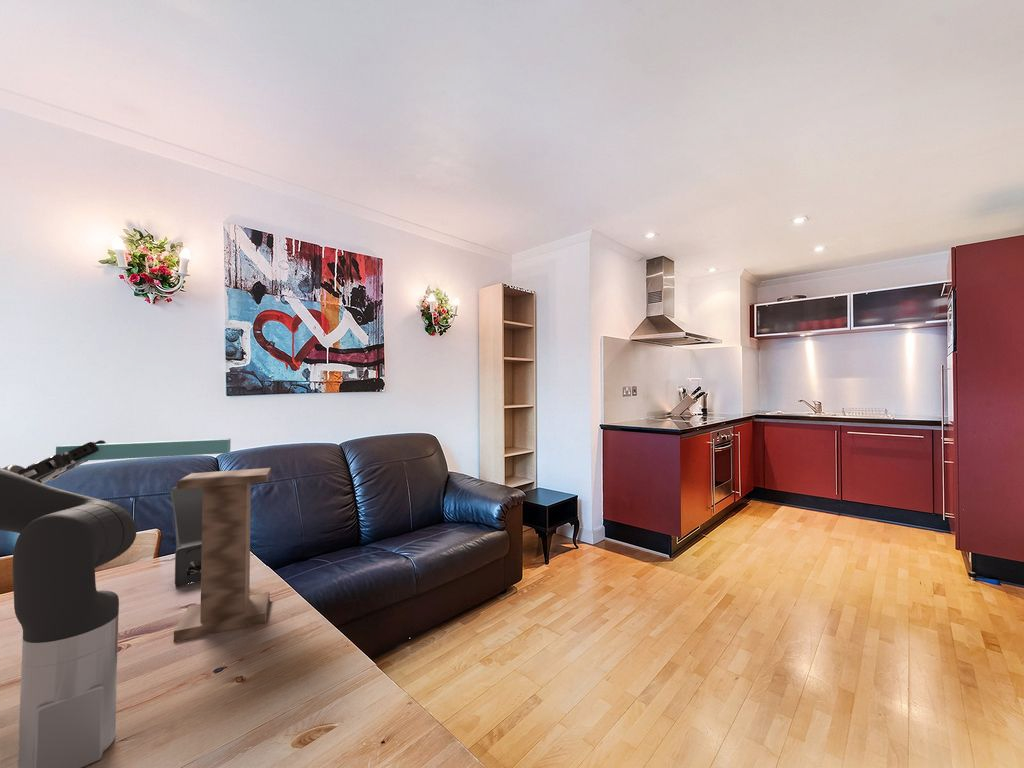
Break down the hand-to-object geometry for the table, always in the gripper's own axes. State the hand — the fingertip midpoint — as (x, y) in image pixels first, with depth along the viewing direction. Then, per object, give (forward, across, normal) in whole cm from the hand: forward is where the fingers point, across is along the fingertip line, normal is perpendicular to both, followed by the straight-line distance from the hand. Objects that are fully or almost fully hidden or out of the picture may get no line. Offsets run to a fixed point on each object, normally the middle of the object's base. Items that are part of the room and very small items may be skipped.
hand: (100, 444), depth 87 cm
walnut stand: (-1, 0, +46) cm, 46 cm away
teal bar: (+6, 0, +6) cm, 9 cm away
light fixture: (-12, +36, +39) cm, 54 cm away
